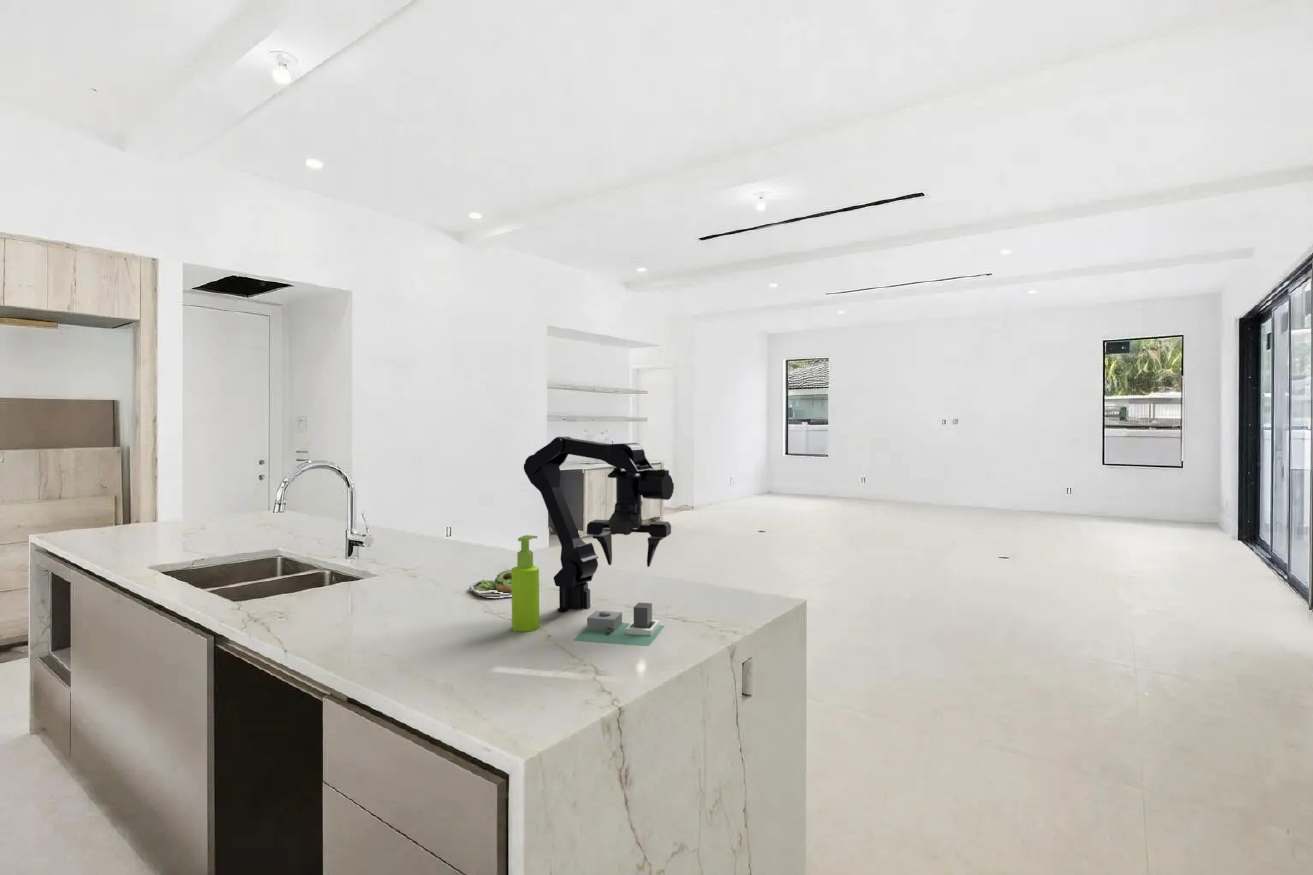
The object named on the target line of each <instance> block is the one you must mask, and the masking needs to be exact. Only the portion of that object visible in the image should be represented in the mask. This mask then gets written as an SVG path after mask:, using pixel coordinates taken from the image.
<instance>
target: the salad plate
mask: <svg viewBox="0 0 1313 875" xmlns="http://www.w3.org/2000/svg"><path fill="white" fill-rule="evenodd" d="M470 589H471V590H472V591H473V592H474V593H473V592H472V593H473V594H474V595H476V594H477V595H476V596H478V595H479V596H478V597H480V596H484V597H500V596H509V595H512V569H508V570H504V571H501V572H499V573H498V574H497V575H496V578H495V579H494V580H493V579H492V580H491V579H490V580H485V579H482V580H479V581H476V582H474V583H472V584H470V585H469V590H470ZM474 589H475V590H479V591H489V590H497V591H498V592H503V593H509V594H497V593H478V592H476V591H475V590H474Z"/></svg>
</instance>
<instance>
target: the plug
mask: <svg viewBox="0 0 1313 875" xmlns="http://www.w3.org/2000/svg"><path fill="white" fill-rule="evenodd" d="M633 620H634V628H646V629H650V628H651V627H652V620H653V603H651V602H650V603H649V602H637V603H636V604H635V605H634V606H633Z"/></svg>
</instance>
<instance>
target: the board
mask: <svg viewBox="0 0 1313 875" xmlns="http://www.w3.org/2000/svg"><path fill="white" fill-rule="evenodd" d="M664 628H665V625H661V620H660V619H652V627H651V628H650V629H646V628H634V619H633V620H632V621H631V622H623V611H613V610H612V611H609V610H595V611H594V612H593V613H591V614H590V615H589V616H588V617H586V627H585V629H584V630H582V631H581V632H580V633H579V634H577V636H575V638H573V639H572V641H575V642H590V643H603V644H613V645H614V644H616V645H617V644H618V645H628V646H629V645H630V646H645V647H650V645H651V644H652V643H653V641H654V640H655V639H656V638H657V637H658V635H659V634H660V633H661V631H662V630H663V629H664Z"/></svg>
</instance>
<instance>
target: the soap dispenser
mask: <svg viewBox="0 0 1313 875" xmlns="http://www.w3.org/2000/svg"><path fill="white" fill-rule="evenodd" d="M532 539H533V540H534V539H538V535H531V534H530V535H528V534H525V535H522V536H520V537H518V538H517V541H518V542H520V550H519V551H518V552H517V553H516V557H517V559H516V560H517V561H516V562H517V563H516V564H517V565H516V566H514V567H512V568H511V570H512V597H511V629H512V630H513V631H515V632H532V631H533V632H534V631H536V630H538V629H539V628H540V567H539V566H538V565H537V566H536V565H534V552H533V551H532V550H530V540H532Z"/></svg>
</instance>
